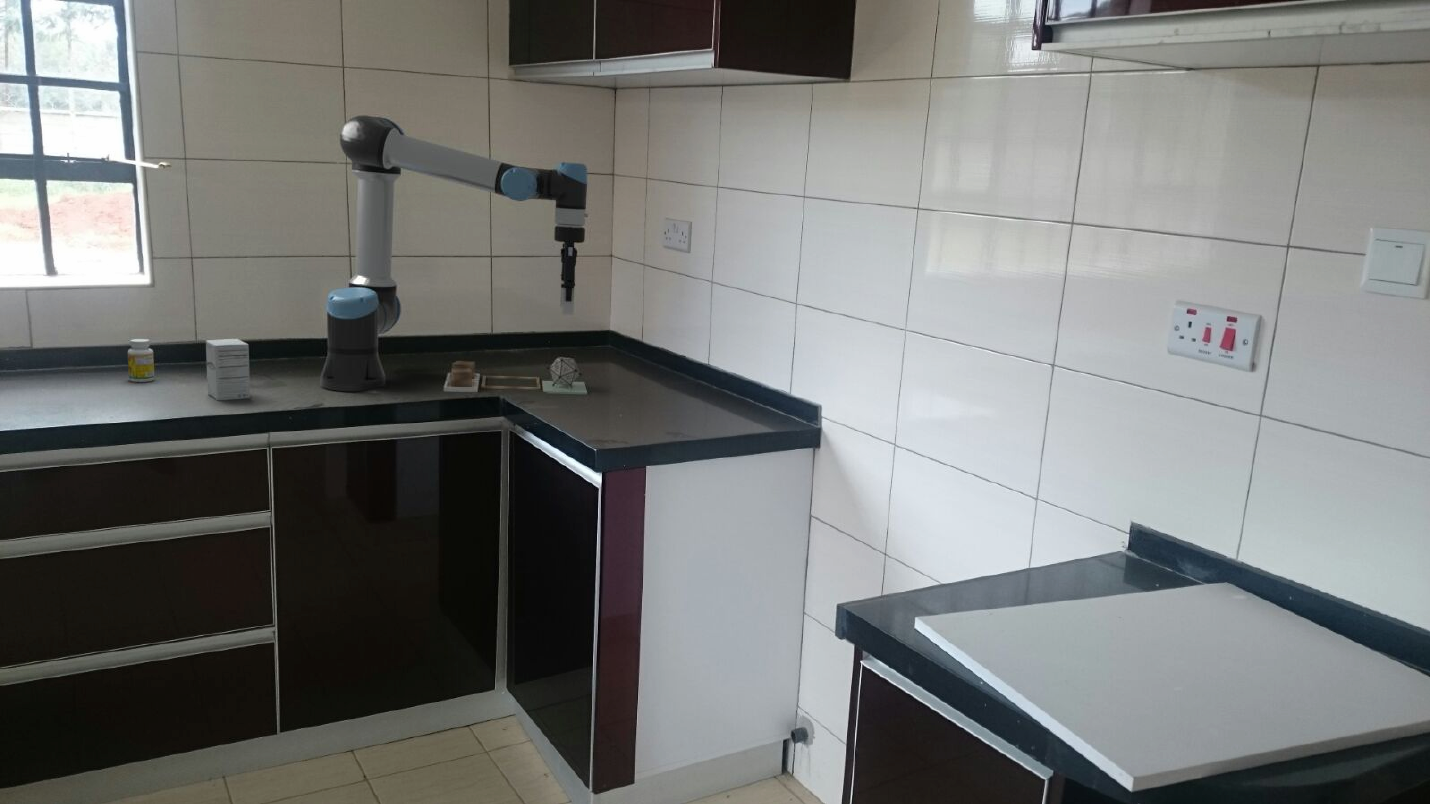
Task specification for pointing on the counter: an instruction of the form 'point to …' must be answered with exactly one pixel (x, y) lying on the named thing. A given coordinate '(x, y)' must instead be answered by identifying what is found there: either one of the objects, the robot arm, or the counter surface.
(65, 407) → the counter surface
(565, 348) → the counter surface
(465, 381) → the block front
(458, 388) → the dish front
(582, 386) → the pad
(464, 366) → the block back
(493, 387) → the oak frame
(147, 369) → the supplement bottle
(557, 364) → the game die
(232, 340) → the supplement box
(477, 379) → the dish back
